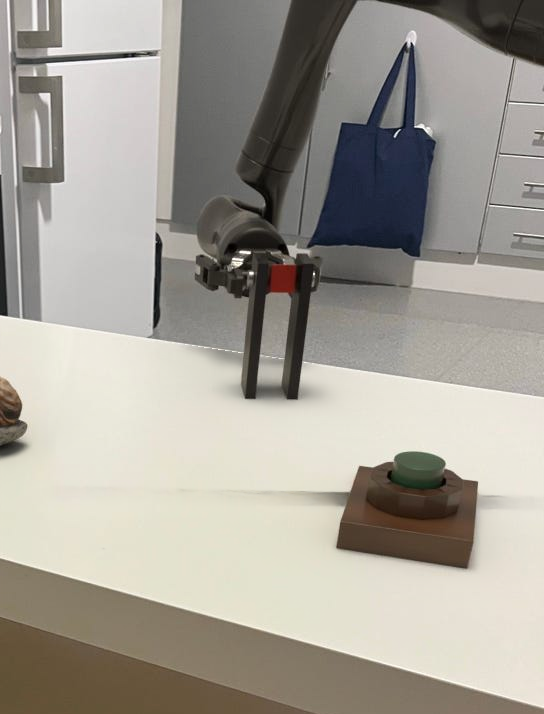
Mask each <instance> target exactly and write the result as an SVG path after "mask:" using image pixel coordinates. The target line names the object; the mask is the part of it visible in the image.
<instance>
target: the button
mask: <svg viewBox="0 0 544 714" xmlns="http://www.w3.org/2000/svg"><path fill="white" fill-rule="evenodd" d="M392 462H393V467H392V473H391V478H390V481H391V482H392V483H395V484H397V485H400V486H403V487H405V488H412V489H419V490H427V489H438V488H440V487H441V485H442V480H443V475H444V471H445V469H446V466H447V464H446V460H445V459H444V458H442V457H441V456H439V455H437V454H434V453H429V452H426V451H425V452H424V451H414V450H413V451H411V450H409V451H403V452H400V453H397V454H396V455H395V456H394V457H393V461H392Z"/></svg>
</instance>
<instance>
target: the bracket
mask: <svg viewBox="0 0 544 714" xmlns="http://www.w3.org/2000/svg"><path fill="white" fill-rule="evenodd" d="M295 258H296V263H295V265H296V276H295V288H294V293H292V298H290V308H289V316H288V325H287V333H286V343H285V351H284V361H283V367H282V368H283V369H282V377H281V388H282V390H283V393H284V395H285V398H286V400H289V401H291V400H292V401H294V400H295V401H298V400H299V399H298V398H299V392H300V383H301V376H302V369H303V368H302V366H303V359H304V351H305V343H306V335H307V327H308V318H309V311H310V304H311V296H312V295H311V294H312V293H311V287H313V286H314V283H315V271H314V263H313V261H312V260H311V257H310V255H309V254H308V253H307V252H306V253H305V252H304V253H302V252H301V253H300V252H299V253H298V252H297V253H296V256H295ZM268 270H269V262H268V261H267V259H266V257H265V255H264V253H253V259H252V269H251V270H249V271H248V275H247V286H250V291H249V298H248V303H247V314H246V323H245V324H246V325H245V334H244V335H245V336H244V345H243V346H244V347H243V356H242V357H243V358H242V368H241V377H240V378H241V379H240V381H241V382H240V386H241V389H242V393H243V397H244V399H245V400H256V396H257V388H258V378H259V367H260V359H261V358H260V357H261V347H262V339H263V327H264V319H265V310H266V309H265V308H266V298H267V295H266V289H267V279H268Z"/></svg>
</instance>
